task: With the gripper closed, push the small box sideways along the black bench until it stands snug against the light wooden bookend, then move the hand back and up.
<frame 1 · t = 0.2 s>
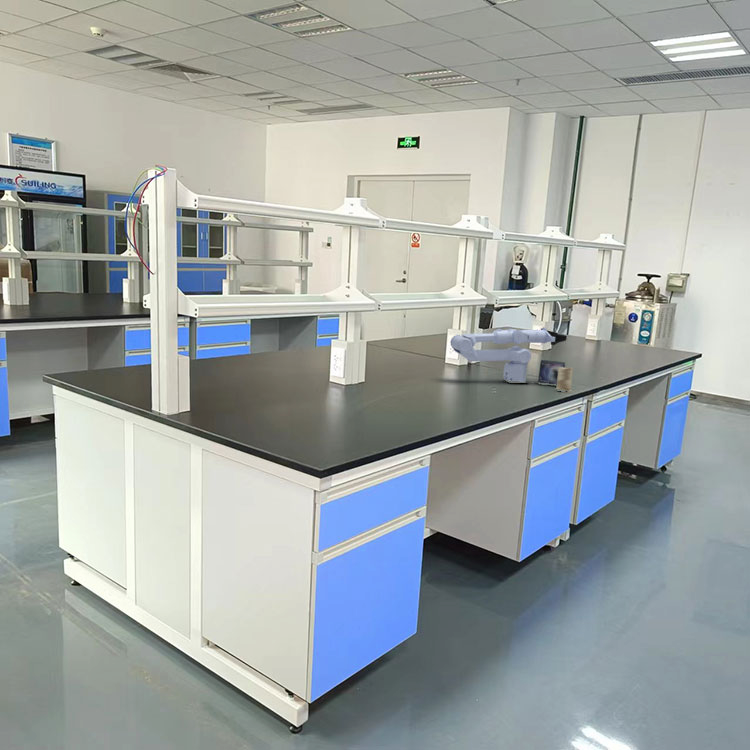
hand: (561, 336, 290), 21 cm above the worktop, tool horizontal, fingers open, 7 cm apart
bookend: (563, 391, 276), on the worktop
small box: (550, 385, 288), on the worktop
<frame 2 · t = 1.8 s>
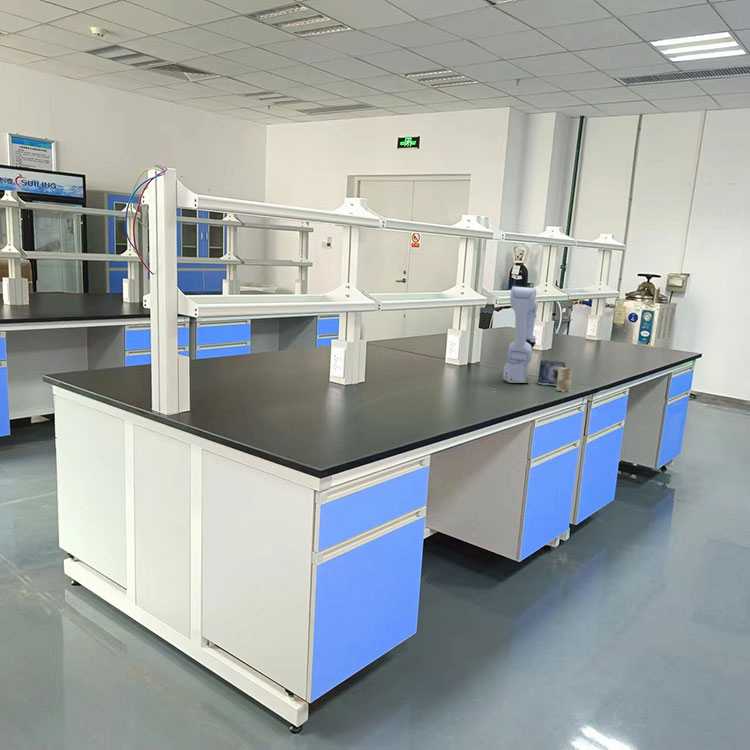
hand: (524, 355, 300), 10 cm above the worktop, tool pointing down, fingers open, 5 cm apart
nothing on the worktop moved.
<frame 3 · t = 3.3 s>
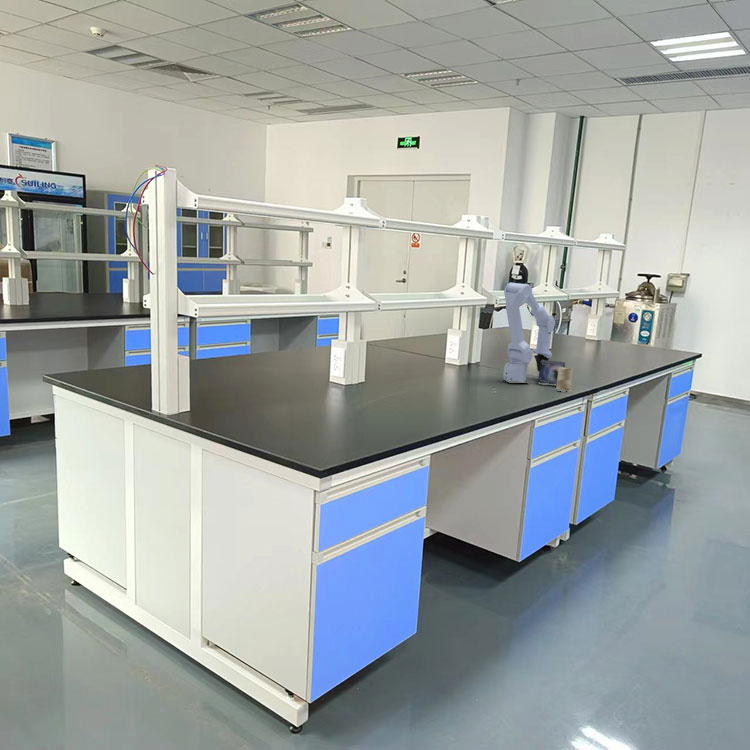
hand: (540, 371, 297), 4 cm above the worktop, tool pointing down, fingers closed
nothing on the worktop moved.
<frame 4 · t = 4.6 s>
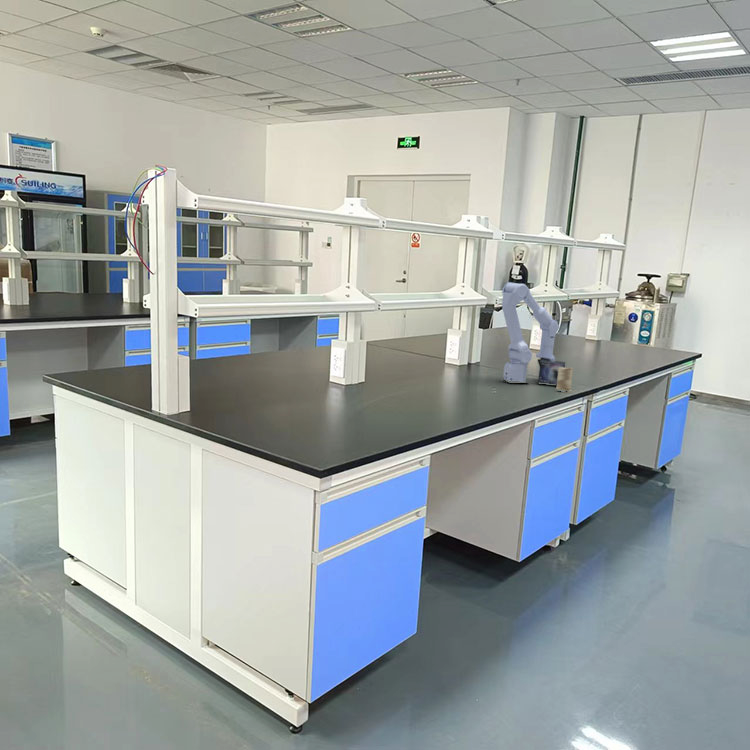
hand: (543, 375, 294), 3 cm above the worktop, tool pointing down, fingers closed
small box: (550, 385, 288), on the worktop, touching gripper
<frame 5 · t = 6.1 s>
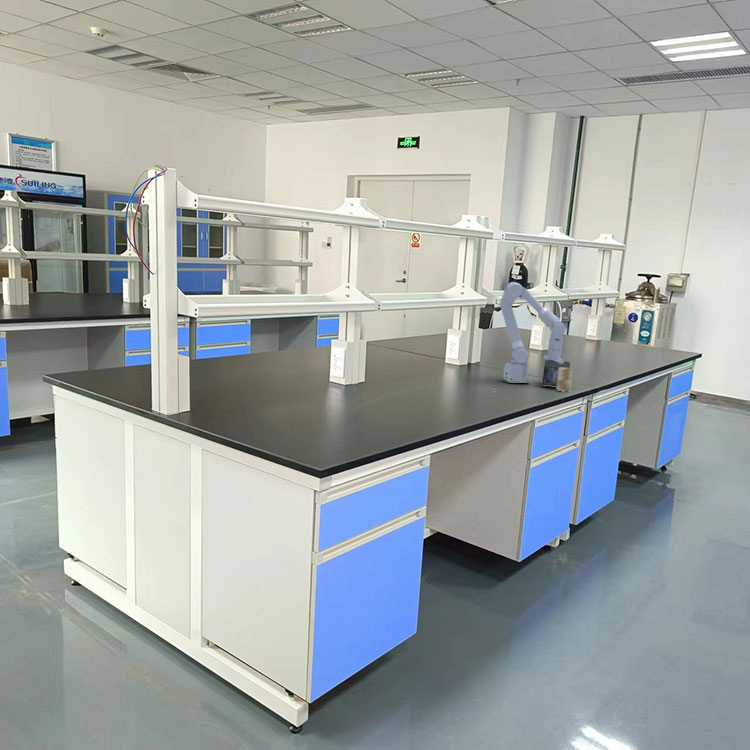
hand: (550, 379, 287), 3 cm above the worktop, tool pointing down, fingers closed, pressing on small box
small box: (554, 385, 284), point 1 cm above the worktop, touching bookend, gripper
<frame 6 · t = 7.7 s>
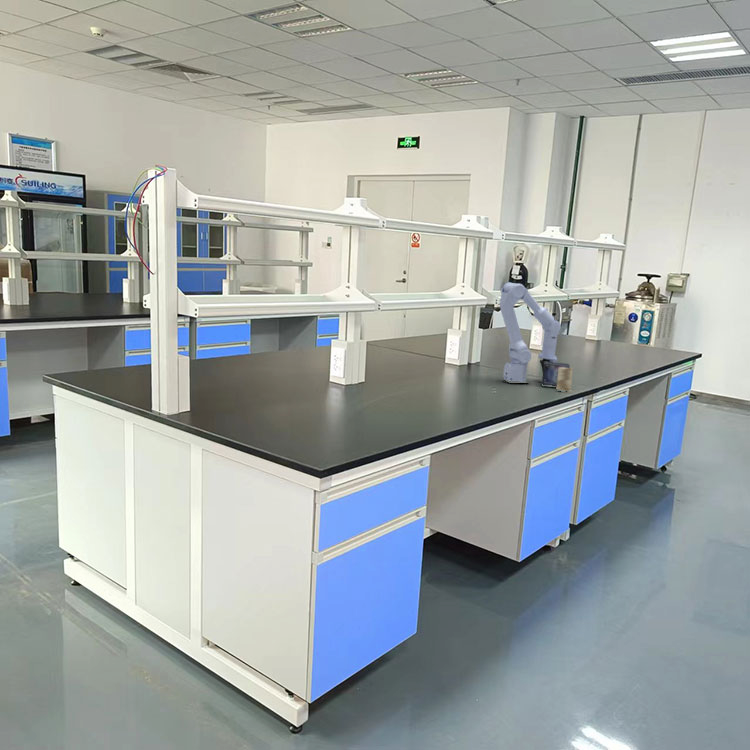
hand: (545, 376, 292), 3 cm above the worktop, tool pointing down, fingers closed
small box: (553, 387, 284), on the worktop
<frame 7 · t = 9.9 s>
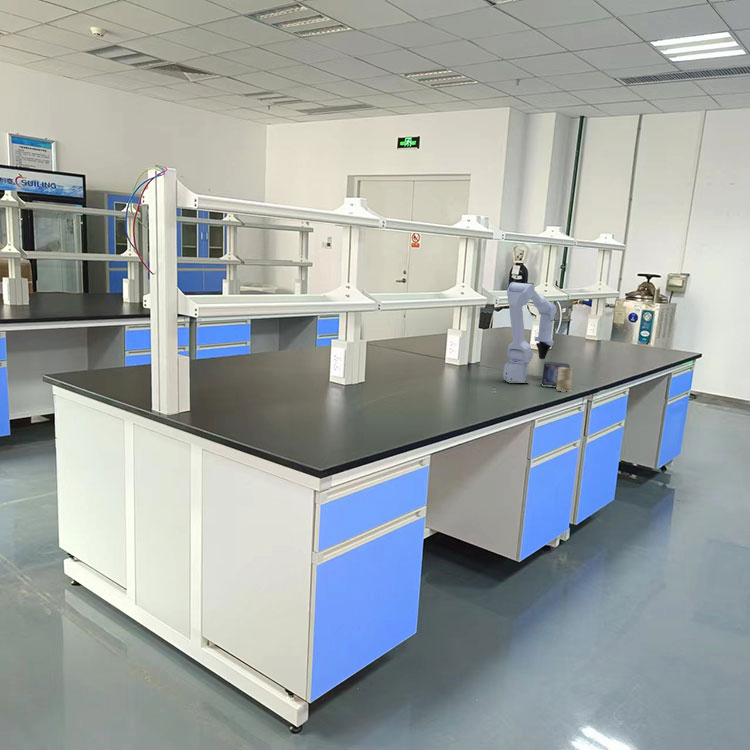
hand: (541, 358, 300), 9 cm above the worktop, tool pointing down, fingers closed
nothing on the worktop moved.
at the end: small box 1.9 cm from the target spot on the worktop beside the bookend, on the worktop; small box tilted 0°; small box moved 4.1 cm from its start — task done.
